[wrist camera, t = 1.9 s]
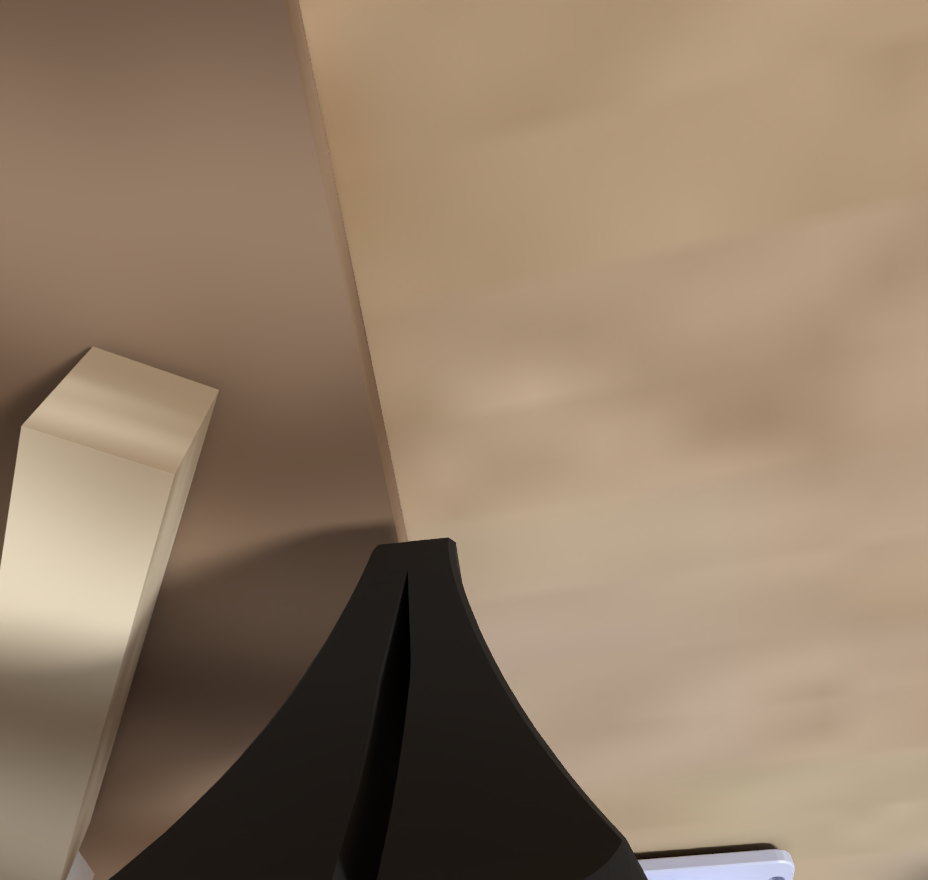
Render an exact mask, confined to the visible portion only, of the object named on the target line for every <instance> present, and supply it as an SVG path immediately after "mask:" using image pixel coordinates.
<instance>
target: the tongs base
mask: <svg viewBox="0 0 928 880" xmlns="http://www.w3.org/2000/svg"><path fill="white" fill-rule="evenodd" d="M92 347H96V348H99V349H102V350H105V351H108V352H111V353H114V354H117V355H120V356H122V357H125V358H128V359H131V360H134V361H137V362H140V363H143V364H146V365H149V366H151V367H154V368H157V369H160V370H163V371H166V372H169V373H172V374H175V375H177V376H180V377H183V378H186V379H189V380H192V381H195V382H198V383H201V384H204V385H206V386H209V387H212V388H215V389H218V390H219V392H218V395H217V399H216V402H215V405H214V409H213V412H212V415H211V419H210V422H209V426H208V429H207V432H206V436H205V439H204V442H203V446H202V449H201V452H200V456H199V459H198V462H197V466H196V469H195V472H194V476H193V479H192V483H191V486H190V489H189V493H188V496H187V499H186V503H185V506H184V509H183V513H182V516H181V519H180V523H179V526H178V529H177V533H176V536H175V539H174V543H173V546H172V550H171V553H170V556H169V560H168V563H167V566H166V570H165V573H164V576H163V580H162V583H161V586H160V590H159V593H158V596H157V600H156V603H155V607H154V610H153V613H152V617H151V620H150V623H149V627H148V630H147V633H146V637H145V640H144V643H143V647H142V650H141V653H140V657H139V660H138V664H137V667H136V670H135V674H134V677H133V680H132V684H131V687H130V690H129V694H128V697H127V700H126V704H125V707H124V710H123V714H122V717H121V721H120V724H119V727H118V731H117V734H116V737H115V741H114V744H113V747H112V751H111V754H110V757H109V761H108V764H107V767H106V771H105V774H104V777H103V781H102V784H101V788H100V791H99V794H98V798H97V801H96V804H95V808H94V811H93V814H92V818H91V821H90V824H89V826H88V829H87V831H86V833H85V836H84V838H83V841H82V843H81V846H80V848H79V850H78V853H77V855H76V858H75V860H74V862H73V865H72V867H71V870H70V872H69V875H68V877H67V879H66V880H109V879H110V878H111V877H112V876H114V875H115V874H116V873H117V872H119V871H120V870H121V869H122V868H123V867H124V866H126V865H127V864H128V863H129V862H130V861H132V860H133V859H134V858H135V857H136V856H137V855H139V854H140V853H141V852H142V851H143V850H145V849H146V848H147V847H148V846H149V845H150V844H152V843H153V842H154V841H155V840H156V839H158V838H159V837H160V836H161V835H162V834H163V833H165V832H166V831H167V830H168V829H169V828H170V827H171V826H172V825H173V824H174V823H175V822H176V821H177V820H178V819H180V818H181V817H182V816H183V815H184V814H185V813H186V812H187V811H188V810H189V809H190V808H191V807H192V806H193V805H194V804H195V803H196V802H197V801H198V800H199V799H200V798H201V797H202V796H203V795H204V794H205V793H206V792H207V791H208V790H209V789H210V788H211V787H212V786H213V785H214V784H215V783H216V782H217V781H218V780H219V779H220V778H221V777H222V776H223V775H224V774H225V772H226V771H227V770H228V769H229V768H230V767H231V766H232V765H233V764H234V763H235V762H236V760H237V759H238V758H239V757H240V756H241V755H242V754H243V752H244V751H245V750H246V749H247V748H248V747H249V745H250V744H251V743H252V742H253V741H254V740H255V738H256V737H257V736H258V735H259V734H260V733H261V731H262V730H263V729H264V728H265V727H266V725H267V724H268V723H269V722H270V720H271V719H272V718H273V716H274V715H275V714H276V713H277V711H278V710H279V709H280V707H281V706H282V705H283V704H284V702H285V701H286V699H287V698H288V697H289V695H290V694H291V693H292V691H293V690H294V688H295V687H296V686H297V684H298V683H299V681H300V680H301V679H302V677H303V676H304V674H305V672H306V671H307V669H308V668H309V666H310V665H311V663H312V662H313V660H314V659H315V657H316V655H317V654H318V652H319V651H320V649H321V648H322V646H323V645H324V643H325V641H326V640H327V638H328V637H329V635H330V633H331V631H332V630H333V628H334V626H335V624H336V623H337V621H338V619H339V617H340V616H341V614H342V612H343V610H344V608H345V607H346V605H347V603H348V601H349V599H350V597H351V595H352V594H353V592H354V590H355V588H356V586H357V584H358V582H359V580H360V578H361V576H362V574H363V571H364V569H365V567H366V565H367V563H368V561H369V558H370V556H371V554H372V551H373V550H374V549H375V548H376V547H377V545H380V544H390V543H400V542H408V540H407V535H406V530H405V525H404V520H403V515H402V510H401V505H400V500H399V495H398V490H397V485H396V480H395V475H394V471H393V466H392V461H391V456H390V451H389V446H388V441H387V436H386V431H385V426H384V421H383V416H382V411H381V406H380V401H379V396H378V391H377V386H376V381H375V377H374V372H373V367H372V362H371V357H370V352H369V347H368V342H367V337H366V332H365V327H364V322H363V317H362V312H361V307H360V302H359V297H358V292H357V287H356V283H355V278H354V273H353V268H352V263H351V258H350V253H349V248H348V243H347V238H346V233H345V228H344V223H343V218H342V213H341V208H340V203H339V198H338V193H337V189H336V184H335V179H334V174H333V169H332V164H331V159H330V154H329V149H328V144H327V139H326V134H325V129H324V124H323V119H322V114H321V109H320V104H319V100H318V95H317V90H316V85H315V80H314V75H313V70H312V65H311V60H310V55H309V50H308V45H307V40H306V35H305V30H304V25H303V20H302V15H301V10H300V6H299V1H298V0H0V566H1V559H2V553H3V546H4V539H5V532H6V526H7V519H8V512H9V506H10V499H11V492H12V486H13V479H14V472H15V466H16V459H17V452H18V446H19V439H20V432H21V426H22V425H23V424H24V422H25V421H26V420H27V419H28V418H29V417H30V416H31V415H32V414H33V412H34V411H35V410H36V409H37V408H38V407H39V406H40V405H41V404H42V402H43V401H44V400H45V399H46V398H47V397H48V396H49V395H50V394H51V392H52V391H53V390H54V389H55V388H56V387H57V386H58V385H59V384H60V382H61V381H62V380H63V379H64V378H65V377H66V376H67V375H68V374H69V372H70V371H71V370H72V369H73V368H74V367H75V366H76V365H77V364H78V362H79V361H80V360H81V359H82V358H83V357H84V356H85V355H86V354H87V352H88V351H89V350H90V349H91V348H92Z"/></svg>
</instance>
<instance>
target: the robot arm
mask: <svg viewBox="0 0 928 880" xmlns="http://www.w3.org/2000/svg"><path fill="white" fill-rule="evenodd" d="M794 870H795V867H794V863H793V861H792V858H791V855H790V854H789V853H788V852H787V851H784V850H781V849H767V850H755V851H742V852H730V853H717V854H704V855H692V856H679V857H667V858H654V859H641V860H637V858H636V856H635V855H634V853H633V851H632V849H631V847H630V845H629V843H628V841H627V840H626V838H625V837H624V836H623V835H622V834H621V833H620V832H619V831H618V829H617V828H616V827H615V826H614V825H613V824H612V823H611V822H610V821H609V820H608V819H607V818H606V817H605V815H604V814H603V813H602V812H601V811H600V810H599V809H598V808H597V806H596V805H595V804H594V803H593V802H592V801H591V800H590V798H589V797H588V796H587V795H586V794H585V792H584V791H583V790H582V789H581V788H580V786H579V785H578V784H577V783H576V781H575V780H574V779H573V778H572V777H571V775H570V774H569V773H568V772H567V770H566V769H565V768H564V766H563V765H562V764H561V762H560V761H559V760H558V758H557V757H556V756H555V754H554V753H553V752H552V750H551V749H550V747H549V746H548V745H547V743H546V742H545V741H544V739H543V738H542V737H541V735H540V734H539V733H538V731H537V730H536V728H535V727H534V725H533V724H532V722H531V721H530V719H529V718H528V716H527V715H526V713H525V712H524V710H523V708H522V707H521V705H520V704H519V702H518V700H517V699H516V697H515V696H514V694H513V692H512V691H511V689H510V687H509V686H508V684H507V682H506V680H505V679H504V677H503V675H502V673H501V671H500V669H499V668H498V666H497V664H496V662H495V660H494V658H493V656H492V654H491V652H490V650H489V648H488V646H487V644H486V642H485V640H484V638H483V635H482V633H481V631H480V629H479V627H478V624H477V622H476V619H475V617H474V614H473V612H472V610H471V607H470V605H469V602H468V599H467V596H466V594H465V591H464V587H463V584H462V579H461V573H460V567H459V560H458V554H457V548H456V542H454V541H453V540H451V539H450V538H439V539H430V540H420V541H410V542H400V543H390V544H380V545H377V547H376V548H375V549H374V550H373V551H372V554H371V556H370V558H369V561H368V563H367V565H366V567H365V569H364V571H363V574H362V576H361V578H360V580H359V582H358V584H357V586H356V588H355V590H354V592H353V594H352V595H351V597H350V599H349V601H348V603H347V605H346V607H345V608H344V610H343V612H342V614H341V616H340V617H339V619H338V621H337V623H336V624H335V626H334V628H333V630H332V631H331V633H330V635H329V637H328V638H327V640H326V641H325V643H324V645H323V646H322V648H321V649H320V651H319V652H318V654H317V655H316V657H315V659H314V660H313V662H312V663H311V665H310V666H309V668H308V669H307V671H306V672H305V674H304V676H303V677H302V679H301V680H300V681H299V683H298V684H297V686H296V687H295V688H294V690H293V691H292V693H291V694H290V695H289V697H288V698H287V699H286V701H285V702H284V704H283V705H282V706H281V707H280V709H279V710H278V711H277V713H276V714H275V715H274V716H273V718H272V719H271V720H270V722H269V723H268V724H267V725H266V727H265V728H264V729H263V730H262V731H261V733H260V734H259V735H258V736H257V737H256V738H255V740H254V741H253V742H252V743H251V744H250V745H249V747H248V748H247V749H246V750H245V751H244V752H243V754H242V755H241V756H240V757H239V758H238V759H237V760H236V762H235V763H234V764H233V765H232V766H231V767H230V768H229V769H228V770H227V771H226V772H225V774H224V775H223V776H222V777H221V778H220V779H219V780H218V781H217V782H216V783H215V784H214V785H213V786H212V787H211V788H210V789H209V790H208V791H207V792H206V793H205V794H204V795H203V796H202V797H201V798H200V799H199V800H198V801H197V802H196V803H195V804H194V805H193V806H192V807H191V808H190V809H189V810H188V811H187V812H186V813H185V814H184V815H183V816H182V817H181V818H180V819H178V820H177V821H176V822H175V823H174V824H173V825H172V826H171V827H170V828H169V829H168V830H167V831H166V832H165V833H163V834H162V835H161V836H160V837H159V838H158V839H156V840H155V841H154V842H153V843H152V844H150V845H149V846H148V847H147V848H146V849H145V850H143V851H142V852H141V853H140V854H139V855H137V856H136V857H135V858H134V859H133V860H132V861H130V862H129V863H128V864H127V865H126V866H124V867H123V868H122V869H121V870H120V871H119V872H117V873H116V874H115V875H114V876H112V877H111V878H110V879H109V880H793V875H794Z"/></svg>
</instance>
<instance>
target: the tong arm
mask: <svg viewBox="0 0 928 880" xmlns="http://www.w3.org/2000/svg"><path fill="white" fill-rule="evenodd" d="M218 392H219V390H218V389H215V388H212V387H209V386H206V385H204V384H201V383H198V382H195V381H192V380H189V379H186V378H183V377H180V376H177V375H175V374H172V373H169V372H166V371H163V370H160V369H157V368H154V367H151V366H149V365H146V364H143V363H140V362H137V361H134V360H131V359H128V358H125V357H122V356H120V355H117V354H114V353H111V352H108V351H105V350H102V349H99V348H96V347H92V348H91V349H90V350H89V351H88V352H87V354H86V355H85V356H84V357H83V358H82V359H81V360H80V361H79V362H78V364H77V365H76V366H75V367H74V368H73V369H72V370H71V371H70V372H69V374H68V375H67V376H66V377H65V378H64V379H63V380H62V381H61V382H60V384H59V385H58V386H57V387H56V388H55V389H54V390H53V391H52V392H51V394H50V395H49V396H48V397H47V398H46V399H45V400H44V401H43V402H42V404H41V405H40V406H39V407H38V408H37V409H36V410H35V411H34V412H33V414H32V415H31V416H30V417H29V418H28V419H27V420H26V421H25V422H24V424H23V425H22V426H21V432H20V439H19V446H18V452H17V459H16V466H15V472H14V479H13V486H12V492H11V499H10V506H9V512H8V519H7V526H6V532H5V539H4V546H3V553H2V559H1V566H0V880H66V879H67V877H68V875H69V872H70V870H71V867H72V865H73V862H74V860H75V858H76V855H77V853H78V850H79V848H80V846H81V843H82V841H83V838H84V836H85V833H86V831H87V829H88V826H89V824H90V821H91V818H92V814H93V811H94V808H95V804H96V801H97V798H98V794H99V791H100V788H101V784H102V781H103V777H104V774H105V771H106V767H107V764H108V761H109V757H110V754H111V751H112V747H113V744H114V741H115V737H116V734H117V731H118V727H119V724H120V721H121V717H122V714H123V710H124V707H125V704H126V700H127V697H128V694H129V690H130V687H131V684H132V680H133V677H134V674H135V670H136V667H137V664H138V660H139V657H140V653H141V650H142V647H143V643H144V640H145V637H146V633H147V630H148V627H149V623H150V620H151V617H152V613H153V610H154V607H155V603H156V600H157V596H158V593H159V590H160V586H161V583H162V580H163V576H164V573H165V570H166V566H167V563H168V560H169V556H170V553H171V550H172V546H173V543H174V539H175V536H176V533H177V529H178V526H179V523H180V519H181V516H182V513H183V509H184V506H185V503H186V499H187V496H188V493H189V489H190V486H191V483H192V479H193V476H194V472H195V469H196V466H197V462H198V459H199V456H200V452H201V449H202V446H203V442H204V439H205V436H206V432H207V429H208V426H209V422H210V419H211V415H212V412H213V409H214V405H215V402H216V399H217V395H218Z"/></svg>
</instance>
